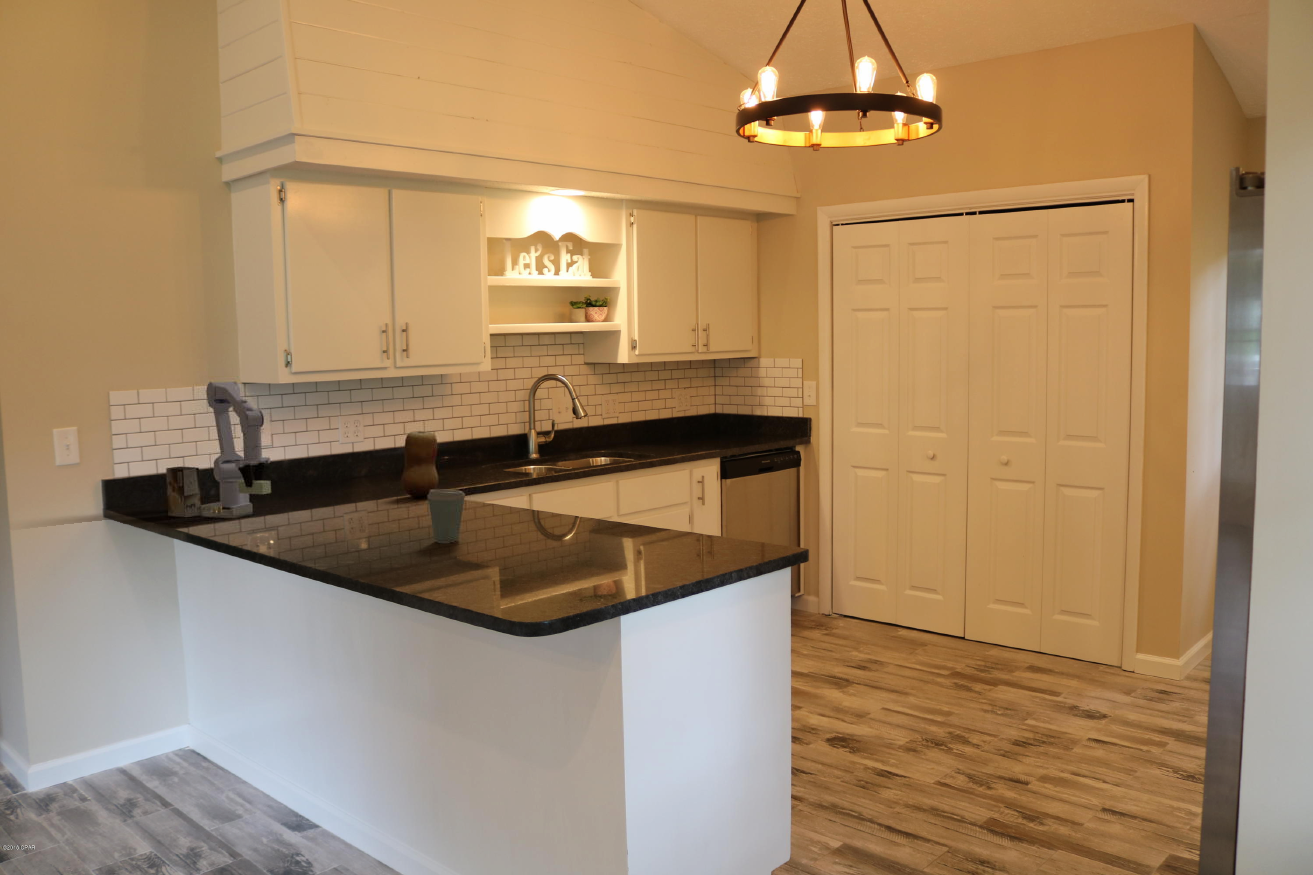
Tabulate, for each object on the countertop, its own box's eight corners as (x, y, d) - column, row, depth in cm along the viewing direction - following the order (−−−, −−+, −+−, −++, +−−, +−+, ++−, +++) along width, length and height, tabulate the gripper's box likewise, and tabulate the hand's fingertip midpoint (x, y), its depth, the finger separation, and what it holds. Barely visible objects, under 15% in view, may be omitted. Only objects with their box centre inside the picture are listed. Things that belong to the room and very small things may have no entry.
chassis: (199, 516, 334) (198, 505, 334) (219, 512, 343) (218, 501, 342) (233, 518, 330) (232, 507, 329) (252, 514, 338) (252, 503, 338)
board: (238, 493, 341) (238, 481, 341) (246, 491, 345) (246, 480, 345) (262, 494, 338) (262, 482, 338) (270, 492, 342) (270, 481, 342)
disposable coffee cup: (449, 536, 296) (449, 486, 294) (474, 541, 289) (473, 489, 288) (420, 542, 287) (419, 489, 286) (444, 546, 281) (443, 493, 279)
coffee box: (202, 515, 337) (200, 467, 335) (185, 517, 331) (183, 469, 330) (183, 513, 341) (182, 465, 340) (166, 515, 335) (165, 467, 334)
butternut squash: (433, 500, 371) (432, 432, 369) (397, 500, 371) (396, 432, 369) (442, 494, 385) (441, 429, 383) (407, 494, 385) (406, 429, 383)
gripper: (247, 448, 332) (248, 489, 333) (276, 444, 346) (277, 484, 347) (229, 448, 335) (231, 488, 336) (259, 444, 348) (261, 483, 349)
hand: (253, 486), depth 342 cm, fingers closed on board, 4 cm apart
